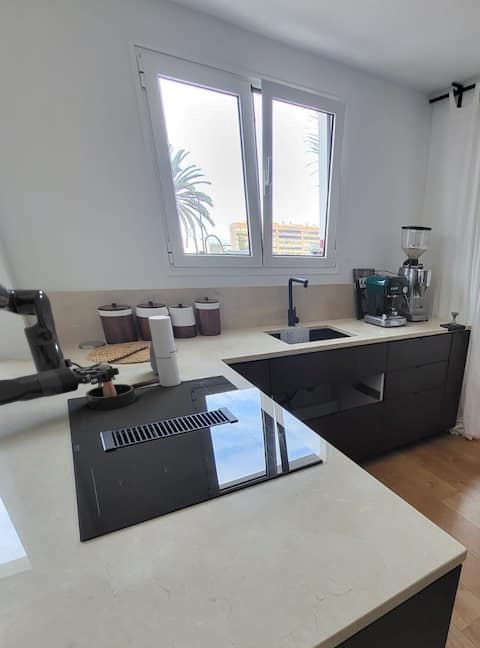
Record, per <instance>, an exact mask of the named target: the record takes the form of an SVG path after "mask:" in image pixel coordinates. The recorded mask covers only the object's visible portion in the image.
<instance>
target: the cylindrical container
mask: <svg viewBox="0 0 480 648" xmlns="http://www.w3.org/2000/svg"><path fill="white" fill-rule="evenodd" d="M147 320H148V324H149V329H150V336H151V341H153V346H154V352H155V357H156V362H157V368H158V373H159V375H158V379H160V382H159V384H160V386H162V387H174V386H179V385H180V384H181V383H182V381H181V374H180V368H179V363H178V357H177V350H176V344H175V338H174V331H173V326H172V320H171V316H169V315H154V316H153V315H152V316H149V317H148V318H147Z"/></svg>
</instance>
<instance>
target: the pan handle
mask: <svg viewBox="0 0 480 648" xmlns="http://www.w3.org/2000/svg"><path fill="white" fill-rule="evenodd" d="M157 384H160V378H159V377H158V378H157V377H156V378H152V379H148V380H143V381H140V382H136V383H132V384H129V385H130V386H133V388H134V390H137V389H140V388H144V387H149V386H153V385H157ZM130 386H129V389H130Z"/></svg>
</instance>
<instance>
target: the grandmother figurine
mask: <svg viewBox="0 0 480 648" xmlns="http://www.w3.org/2000/svg"><path fill="white" fill-rule="evenodd" d="M100 363H101V362H100ZM110 366H111V365H110V363H106V362H105V361H102V363H101V364H99V366H98V367H99V370H101V371H102V370H108V369H110V368H109V367H110ZM102 376H103V375H102ZM102 376H101V377H102ZM113 381H116V376H115V375H114V376H109V377H108V380H105V381H103V382H100V383H97V387H99V388H101V387H102V386H103V395H104V397H111V396H116V395H117V394H116V391H115V388H114V385H113V384H114V383H113Z"/></svg>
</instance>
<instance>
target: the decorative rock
mask: <svg viewBox="0 0 480 648" xmlns="http://www.w3.org/2000/svg"><path fill="white" fill-rule="evenodd" d="M149 361H150V367H151V370H152V371H153V373H155V375H156V376H159V373H158V368H157V362H156V357H155V352H154V346H153V341H152V340H151V341H150V345H149Z"/></svg>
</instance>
